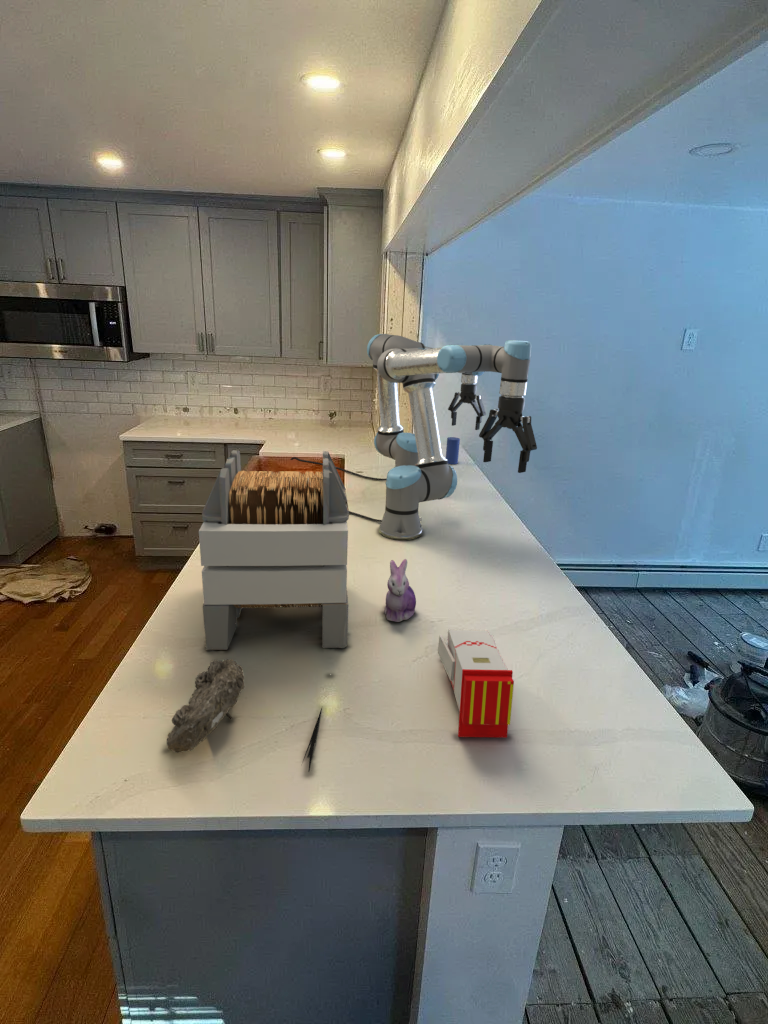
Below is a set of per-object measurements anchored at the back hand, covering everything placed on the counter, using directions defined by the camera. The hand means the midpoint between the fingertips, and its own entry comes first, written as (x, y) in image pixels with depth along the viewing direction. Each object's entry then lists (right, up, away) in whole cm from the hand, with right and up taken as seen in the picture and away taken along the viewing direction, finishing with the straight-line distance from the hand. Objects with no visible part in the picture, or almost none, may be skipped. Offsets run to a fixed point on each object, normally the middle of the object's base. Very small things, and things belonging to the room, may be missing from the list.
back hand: (465, 427), depth 279 cm
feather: (-52, -82, -170) cm, 196 cm away
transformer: (-66, -68, -134) cm, 164 cm away
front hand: (-4, -28, -107) cm, 111 cm away
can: (-5, -16, +18) cm, 24 cm away
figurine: (-36, -68, -132) cm, 152 cm away
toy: (-22, -79, -160) cm, 180 cm away
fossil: (-73, -81, -171) cm, 202 cm away
